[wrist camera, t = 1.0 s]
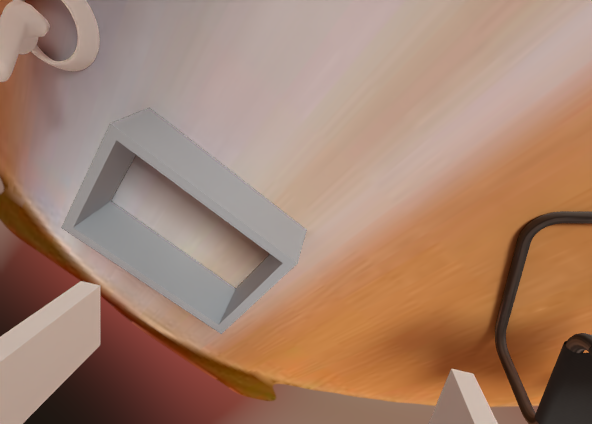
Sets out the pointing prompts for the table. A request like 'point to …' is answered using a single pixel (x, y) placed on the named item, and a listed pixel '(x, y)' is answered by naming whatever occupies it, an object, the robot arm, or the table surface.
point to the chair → (572, 361)
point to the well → (161, 253)
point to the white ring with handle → (31, 25)
